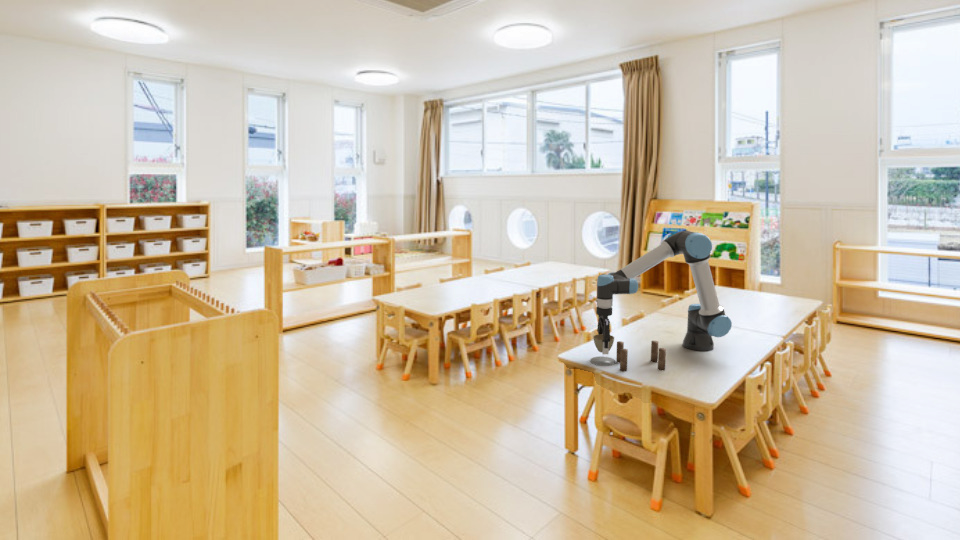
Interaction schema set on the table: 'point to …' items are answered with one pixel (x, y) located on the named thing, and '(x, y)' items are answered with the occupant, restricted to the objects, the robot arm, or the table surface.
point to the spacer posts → (661, 358)
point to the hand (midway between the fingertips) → (603, 350)
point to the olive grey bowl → (599, 342)
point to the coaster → (603, 361)
